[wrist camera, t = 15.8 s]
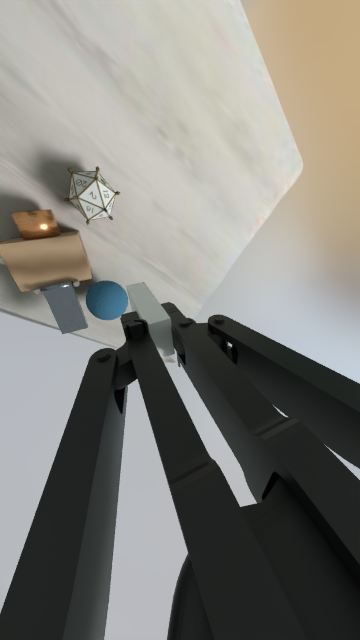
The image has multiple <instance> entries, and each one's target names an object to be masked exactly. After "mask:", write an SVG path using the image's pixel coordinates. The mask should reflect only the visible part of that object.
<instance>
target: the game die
mask: <svg viewBox="0 0 360 640" xmlns="http://www.w3.org/2000/svg"><path fill="white" fill-rule="evenodd" d="M67 168H68V171H69V172H71V173H72V174H71V183H70V191H69V198H65V199H64V200H65V201H70V202H71V203H72V204H73V205H74V206H75V207H76V208H77V209H78V210H79V211H80V212H81V213H82V214H83V215H84V217H85V218H86V219H87V222H86V223H87V225H88V224H89V220H93V219H99V218H105V217H109V218H110V219H111V220H113V217H112V216H110V214H111V210H112V207H113V203H114V199H115V195H119V194H120V192H117V191H116V192H114V190H113V189H112V188H111V187H110V186H109V185H108V183H107V182H106V181H105V180H104V179H103V177H102V176H101V175H100V174H99V173H98V171H99V167H96V171H86V172H73V171H72V170H71V168H69V167H67Z"/></svg>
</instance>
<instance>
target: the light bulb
mask: <svg viewBox="0 0 360 640" xmlns="http://www.w3.org/2000/svg"><path fill="white" fill-rule="evenodd" d="M86 305H87V307H88V309H89V311H90V312H91V313H92V314H93V315H94V316H95V317H97V318H99V319H102V320H113V319H116V318H118V317H120V316H121V315H122V314H123V313H124V312H125V310H126V308H127V305H128V297H127V294H126V292H125V290H124V289H123V288H122V287H121V286H120V285H119V284H117V283H115V282H112V281H100V282H97V283H95V284H94V285H92V286H91V287H90V288H89V290H88V292H87V295H86Z"/></svg>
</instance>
